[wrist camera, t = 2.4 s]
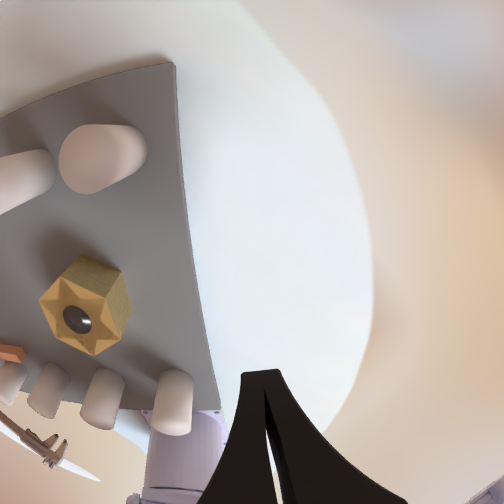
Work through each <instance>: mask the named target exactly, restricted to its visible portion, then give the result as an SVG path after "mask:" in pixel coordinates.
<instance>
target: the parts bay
mask: <svg viewBox="0 0 504 504" xmlns="http://www.w3.org/2000/svg"><path fill="white" fill-rule="evenodd" d="M25 356H26V353H25V352H24V350H23V348H22V347H19V346H12V345H5V344H0V359H3V360H7V361H12V362H17V363H22V361H23V360H24V358H25Z"/></svg>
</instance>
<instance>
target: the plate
mask: <svg viewBox="0 0 504 504" xmlns="http://www.w3.org/2000/svg"><path fill="white" fill-rule="evenodd" d="M81 254H84V255H86V256H88V257H90V258H93V259H95V260H97V261H99V262H101V263H103V264H105V265H108V266H110V267H112V268H114V269H117V270H119V271H121V272H122V276H123V279H124V283H125V286H126V290H127V293H128V297H129V300H130V303H131V307H132V310H133V311H132V313H131V316H130V318H129V321H128V323H127V325H126V328H125V330H124V333H123V335H122V338H121V340H120V341H118V342H116V343H115V344H113V345H112V346H110V347H108V348H107V349H105V350H103V351H102V352H100V353H99V354H97V355H95V356H92V355H90V354H88V353H86V352H83V351H81V350H79V349H77V348H75V347H73V346H71V345H69V344H67V343H65V342H63V341H61V340H59V339H57V338H56V337H55V335H54V333H53V331H52V329H51V327H50V325H49V323H48V321H47V318H46V316H45V314H44V312H43V309H42V307H41V305H40V302H39V298H40V297H41V296H42V295H43V294H44V293H45V292H46V290H47V289H48V288H49V287H50V286H51V285H52V284H53V283H54V281H55V280H56V279H57V278H58V277H59V276H60V275H61V274H62V273H63V272H64V271H65V270H66V269H67V268H68V267H69V266H70V265H71V264H72V263H73V262H74V261H75V260H76V259H77V258H78V257H79V256H80V255H81ZM0 344H5V345H12V346H19V347H22V348H23V350H24V352H25V353H26V356H25V358H24V360H23V361H22V363H17V362H12V361H7V360H3V359H0V402H2V403H3V404H4V405H6V406H11V405H12V403H13V401H14V399H15V397H16V395H17V393H18V392H19V391H23V392H26V393H30V395H29V397H28V399H27V402H28V404H29V406H30V407H31V408H32V409H33V410H34V411H35V412H37V413H38V414H40V415H41V416H43V417H46V418H49V419H53V418H54V417H55V415H56V412H57V410H58V407H59V405H60V402H61V400H62V401H68V402H74V403H80V404H83V405H82V408H81V410H80V416H81V417H82V418H83V419H84V421H86V422H87V423H88V424H90V425H92V426H94V427H96V428H99V429H103V430H111V429H113V428H114V424H115V420H116V416H117V412H118V408H121V409H134V410H153V414H152V420H151V425H152V426H153V428H154V429H156V430H157V431H159V432H161V433H164V434H167V435H173V436H181V435H185V434H188V433H189V432H190V431H191V421H192V411H208V410H221V401H220V397H219V393H218V388H217V384H216V379H215V375H214V370H213V365H212V360H211V356H210V351H209V346H208V341H207V335H206V330H205V325H204V319H203V314H202V308H201V303H200V297H199V291H198V285H197V279H196V272H195V266H194V259H193V252H192V245H191V238H190V231H189V223H188V215H187V207H186V198H185V189H184V180H183V170H182V159H181V148H180V136H179V122H178V107H177V88H176V66H175V65H174V63H173V62H169V63H163V64H157V65H152V66H147V67H142V68H137V69H133V70H128V71H124V72H120V73H116V74H113V75H109V76H105V77H102V78H98V79H95V80H92V81H88V82H85V83H82V84H79V85H76V86H73V87H71V88H68V89H65V90H62V91H60V92H57V93H55V94H52V95H50V96H47V97H45V98H42V99H40V100H38V101H35V102H33V103H31V104H29V105H27V106H25V107H22V108H20V109H18V110H16V111H14V112H12V113H10V114H8V115H6V116H5V117H3V118H1V119H0Z"/></svg>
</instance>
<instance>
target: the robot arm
mask: <svg viewBox="0 0 504 504" xmlns="http://www.w3.org/2000/svg"><path fill="white" fill-rule="evenodd" d="M140 411H141V413H142V414H143V416H144V418H145V419H146V421H147V423H148V424H149V426H150V427H151V432H150V439H149V446H148V453H147V462H146V470H145V479H144V487H143V490H142V498H140V494H137V493H133V495H131V496H129V497H128V498H127V501H126V504H278V503H277V498H276V492H275V488H274V482H273V477H272V471H271V466H270V460H269V454H268V449H267V440H266V431H267V435H268V439H269V442H270V446H271V450H272V454H273V457H274V461H275V465H276V468H277V472H278V477H279V482H280V488H281V493H282V500H283V504H408V503H407V502H406V500H405V499H403V498H401V497H399V496H397V495H396V494H394V493H392V492H390V491H388V490H387V489H385V488H383V487H382V486H380V485H379V484H377V483H376V482H374V481H373V480H371V479H370V478H369V477H367V476H366V475H364V474H363V473H362V472H361V471H359V470H358V469H357V468H356V467H354V466H353V465H352V464H351V463H349V462H348V461H347V460H346V459H345V458H344V457H343V456H342V455H341V454H340V453H339V452H338V451H337V450H336V449H334V447H333V446H332V445H331V444H330V443H329V442H328V441H327V440H326V439H325V438H324V437H323V436H322V435H321V433H320V432H319V431H318V430H317V429H316V427H315V426H314V425H313V424H312V422H311V421H310V420H309V418H308V417H307V416H306V414H305V413H304V411H303V410H302V409H301V407H300V406H299V404H298V403H297V401H296V400H295V398H294V397H293V395H292V393H291V391H290V390H289V388H288V386H287V384H286V382H285V381H284V378H283V376H282V374H281V372H280V370H279V369H270V370H261V371H252V372H243V373H242V374H241V385H240V394H239V399H238V405H237V409H236V413H235V417H234V421H233V424H232V428H231V431H230V434H229V435H228V431H227V427H226V424H225V420H224V415H223V411H222V407H221V410H208V411H192V421H191V431H190V432H189V433H188V434H185V435H181V436H173V435H167V434H164V433H161V432H159V431H157V430H156V429H154V428H153V426H152V425H151V420H152V414H153V410H140ZM223 449H224V451H223ZM465 504H504V475H502V476H501V477H500V478H498V479H497V480H496V481H494V482H492V483H491V484H490V485H488V486H487V487H485V488H484V489H483V490H481V491H480V492H479V493H477V494H476V495H475V496H473V497H472V498H471V499H470V500H469V501H468V502H467V503H465Z"/></svg>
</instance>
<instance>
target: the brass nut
mask: <svg viewBox="0 0 504 504" xmlns="http://www.w3.org/2000/svg"><path fill="white" fill-rule="evenodd" d="M39 302H40V305H41V307H42V309H43V312H44V314H45V316H46V318H47V321H48V323H49V325H50V327H51V329H52V331H53V333H54V335H55V337H56V338H57V339H59V340H61V341H63V342H65V343H67V344H69V345H71V346H73V347H75V348H77V349H79V350H81V351H83V352H86V353H88V354H90V355H92V356H95V355H97V354H99V353H100V352H102V351H103V350H105V349H107V348H108V347H110V346H112V345H113V344H115V343H116V342H118V341H120V340H121V338H122V335H123V333H124V330H125V328H126V325H127V323H128V321H129V318H130V316H131V313H132V311H133V310H132V307H131V303H130V300H129V297H128V293H127V290H126V286H125V283H124V279H123V276H122V272H121V271H119V270H117V269H114V268H112V267H110V266H108V265H105V264H103V263H101V262H99V261H97V260H95V259H93V258H90V257H88V256H86V255H84V254H81V255H80V256H79V257H78V258H77V259H76V260H75V261H74V262H73V263H72V264H71V265H70V266H69V267H68V268H67V269H66V270H65V271H64V272H63V273H62V274H61V275H60V276H59V277H58V278H57V279H56V280H55V281H54V283H53V284H52V285H51V286H50V287H49V288H48V289H47V290H46V292H45V293H44V294H43V295H42V296H41V297H40V298H39Z"/></svg>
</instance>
